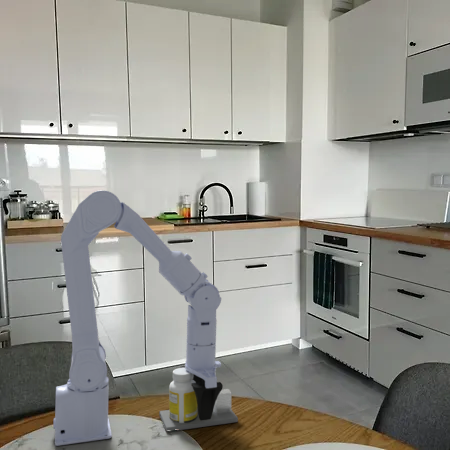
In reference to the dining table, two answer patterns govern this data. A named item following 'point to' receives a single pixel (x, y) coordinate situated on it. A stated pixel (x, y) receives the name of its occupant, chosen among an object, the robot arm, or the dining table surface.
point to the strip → (219, 416)
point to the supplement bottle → (182, 397)
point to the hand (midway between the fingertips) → (199, 410)
